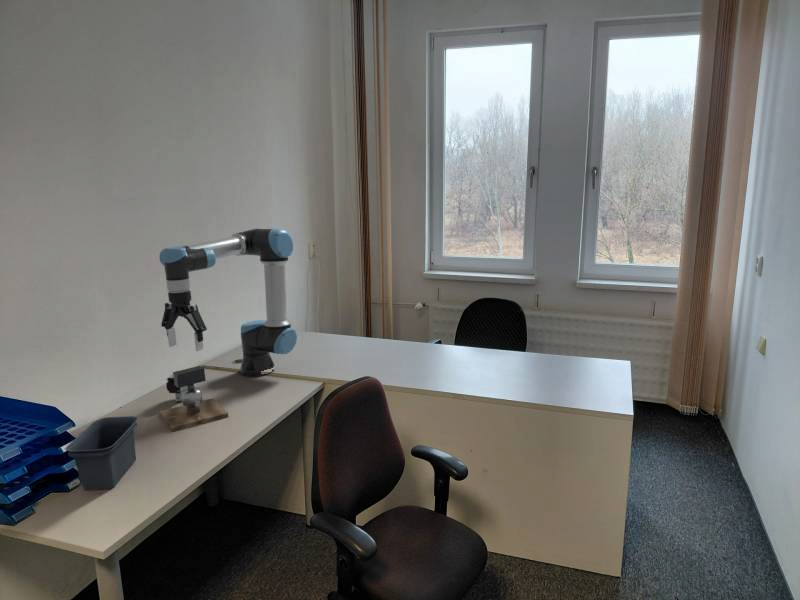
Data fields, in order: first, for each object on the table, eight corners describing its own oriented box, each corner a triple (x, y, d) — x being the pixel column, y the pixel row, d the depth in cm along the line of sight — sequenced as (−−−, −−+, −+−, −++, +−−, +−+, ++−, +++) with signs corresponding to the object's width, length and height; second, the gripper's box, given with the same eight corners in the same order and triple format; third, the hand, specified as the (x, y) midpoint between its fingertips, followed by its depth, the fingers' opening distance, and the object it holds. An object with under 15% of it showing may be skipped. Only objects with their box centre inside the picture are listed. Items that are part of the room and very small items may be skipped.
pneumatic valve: (195, 394, 228) (192, 366, 226) (179, 406, 217) (175, 377, 214) (183, 394, 229) (179, 366, 227) (166, 405, 218) (162, 376, 215)
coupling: (174, 402, 207) (169, 370, 204) (200, 394, 214) (196, 363, 211) (184, 410, 200) (180, 377, 197) (211, 402, 206) (207, 370, 203)
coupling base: (213, 401, 221) (212, 389, 220) (228, 416, 206) (227, 404, 205) (160, 414, 210) (158, 402, 208) (172, 431, 195) (170, 418, 194)
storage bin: (117, 494, 157) (110, 448, 154) (61, 497, 157) (53, 450, 153) (147, 457, 178) (141, 415, 175) (98, 459, 177) (91, 417, 174)
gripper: (212, 290, 195) (219, 348, 200) (163, 286, 206) (170, 341, 211) (196, 295, 188) (203, 354, 193) (146, 290, 200) (153, 346, 204)
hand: (186, 347), depth 202 cm, fingers open, 13 cm apart
